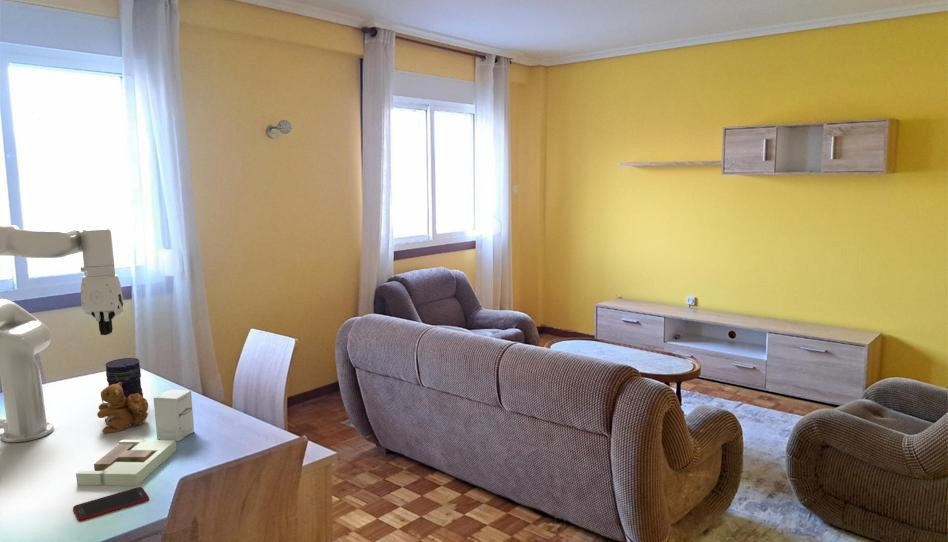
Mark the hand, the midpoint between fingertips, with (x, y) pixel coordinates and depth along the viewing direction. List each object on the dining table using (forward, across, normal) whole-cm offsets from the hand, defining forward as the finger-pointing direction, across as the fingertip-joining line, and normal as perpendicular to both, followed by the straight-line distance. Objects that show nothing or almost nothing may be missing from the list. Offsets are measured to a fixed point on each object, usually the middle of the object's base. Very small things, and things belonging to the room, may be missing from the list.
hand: (106, 333), depth 194 cm
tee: (+29, +17, -24) cm, 41 cm away
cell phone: (+30, +24, -43) cm, 58 cm away
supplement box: (+29, +20, -4) cm, 36 cm away
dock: (+29, +18, -24) cm, 42 cm away
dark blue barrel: (+29, -7, +18) cm, 35 cm away
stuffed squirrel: (+29, +1, +3) cm, 30 cm away
